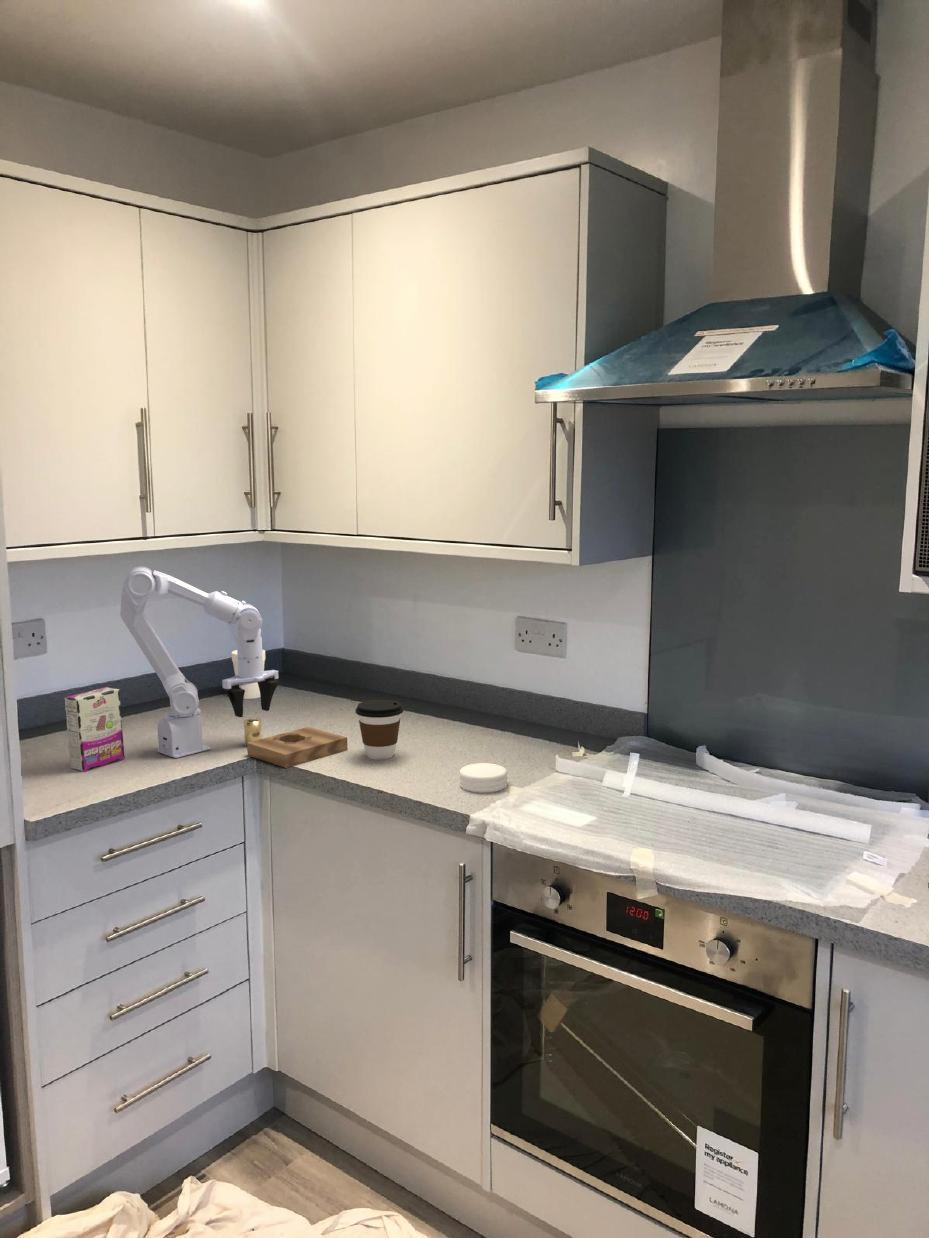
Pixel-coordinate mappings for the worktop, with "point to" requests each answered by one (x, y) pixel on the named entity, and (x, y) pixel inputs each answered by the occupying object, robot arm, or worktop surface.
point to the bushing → (252, 730)
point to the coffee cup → (379, 727)
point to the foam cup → (250, 689)
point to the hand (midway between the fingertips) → (252, 713)
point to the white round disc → (483, 777)
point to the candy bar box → (94, 728)
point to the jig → (297, 746)
